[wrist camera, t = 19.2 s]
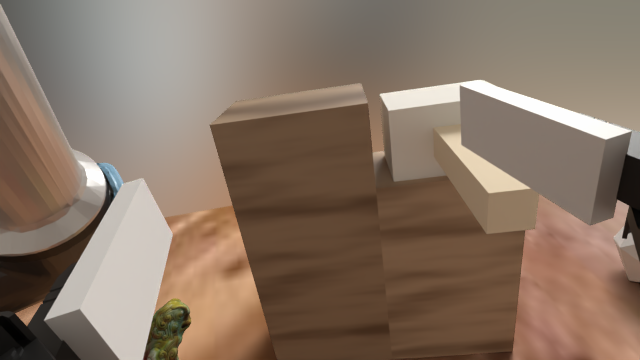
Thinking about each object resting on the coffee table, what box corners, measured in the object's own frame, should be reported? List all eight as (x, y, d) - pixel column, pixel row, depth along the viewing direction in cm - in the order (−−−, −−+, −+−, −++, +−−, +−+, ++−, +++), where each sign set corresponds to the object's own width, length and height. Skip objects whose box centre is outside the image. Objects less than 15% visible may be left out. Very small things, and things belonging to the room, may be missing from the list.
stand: (512, 351, 36) (540, 78, 25) (279, 367, 39) (209, 125, 27) (483, 294, 43) (494, 63, 32) (288, 311, 46) (236, 101, 35)
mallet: (597, 251, 19) (619, 143, 16) (423, 267, 20) (419, 167, 17) (479, 143, 34) (481, 79, 32) (384, 155, 35) (379, 94, 33)
